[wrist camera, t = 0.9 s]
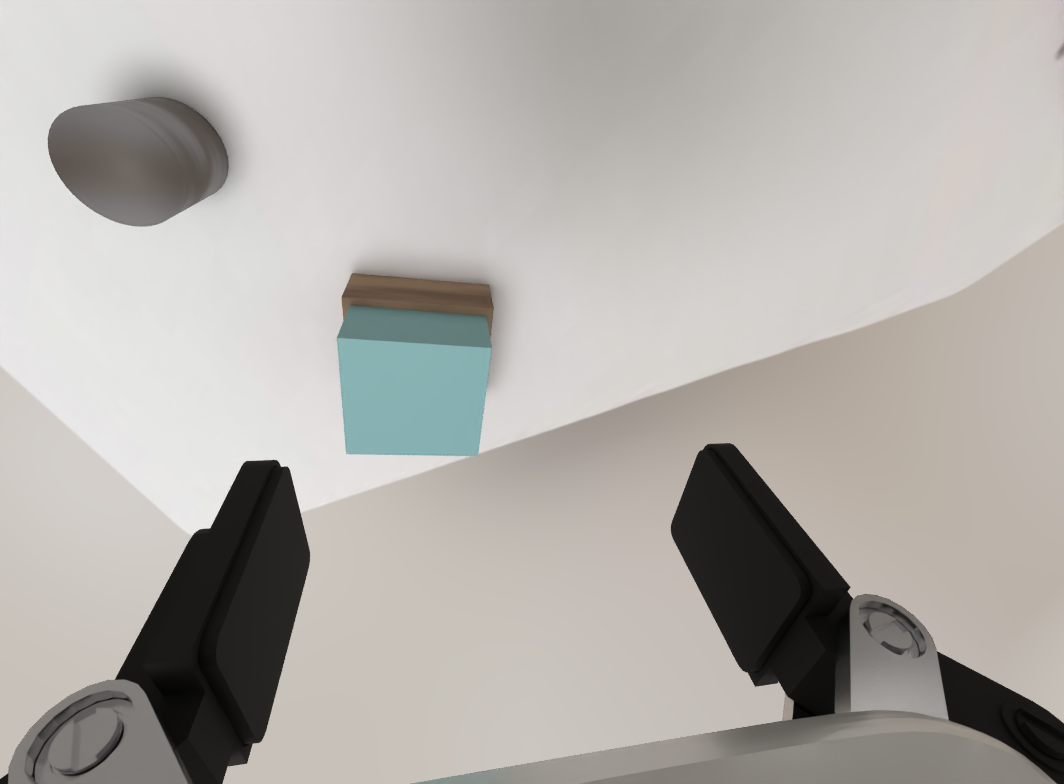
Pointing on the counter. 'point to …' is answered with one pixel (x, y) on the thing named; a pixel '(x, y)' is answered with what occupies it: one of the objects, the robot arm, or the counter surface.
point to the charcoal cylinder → (137, 158)
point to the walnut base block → (418, 295)
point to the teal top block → (413, 381)
